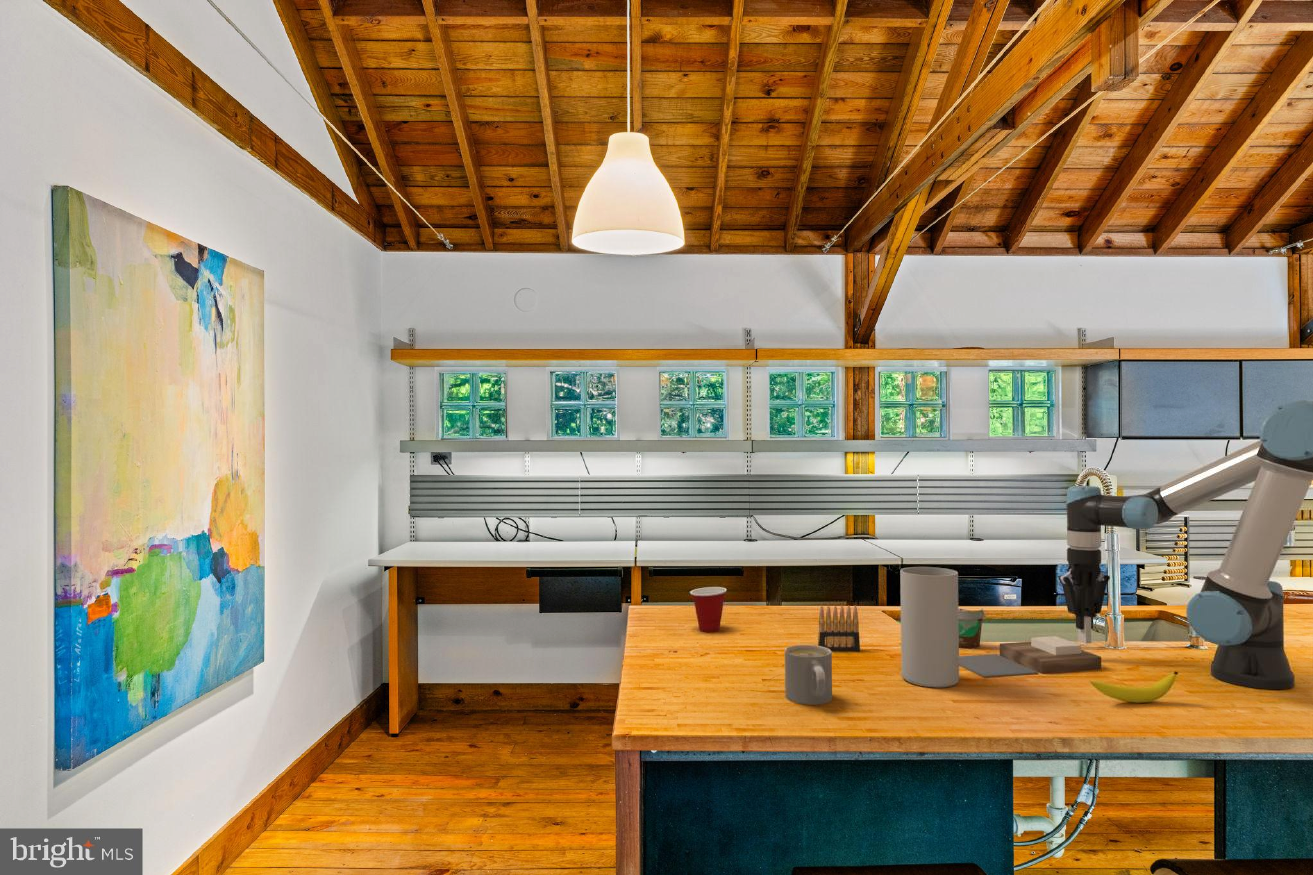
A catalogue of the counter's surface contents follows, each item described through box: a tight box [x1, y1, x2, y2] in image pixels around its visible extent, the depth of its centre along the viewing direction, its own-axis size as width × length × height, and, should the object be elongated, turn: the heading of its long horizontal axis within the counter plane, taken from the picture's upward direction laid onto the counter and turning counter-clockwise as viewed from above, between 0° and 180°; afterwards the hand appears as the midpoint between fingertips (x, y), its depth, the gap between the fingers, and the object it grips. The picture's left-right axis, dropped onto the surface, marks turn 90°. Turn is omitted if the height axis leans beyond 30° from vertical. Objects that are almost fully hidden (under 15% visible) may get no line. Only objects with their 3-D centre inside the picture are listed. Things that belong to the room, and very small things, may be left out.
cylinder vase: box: [899, 566, 960, 689], centre depth 178 cm, size 12×12×25 cm
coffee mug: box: [784, 644, 833, 706], centre depth 165 cm, size 13×10×10 cm
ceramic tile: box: [1030, 635, 1082, 655], centre depth 191 cm, size 9×7×2 cm
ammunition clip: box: [817, 604, 861, 653], centre depth 203 cm, size 11×2×12 cm, turn 88°
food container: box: [958, 608, 986, 650], centre depth 206 cm, size 12×6×10 cm, turn 62°
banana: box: [1089, 671, 1179, 704], centre depth 161 cm, size 3×19×6 cm, turn 93°
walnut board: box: [999, 641, 1102, 675], centre depth 191 cm, size 16×16×3 cm
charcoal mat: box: [959, 653, 1039, 679], centre depth 188 cm, size 16×14×1 cm
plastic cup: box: [689, 586, 727, 633], centre depth 227 cm, size 11×11×12 cm
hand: (1084, 641), depth 193 cm, fingers closed
